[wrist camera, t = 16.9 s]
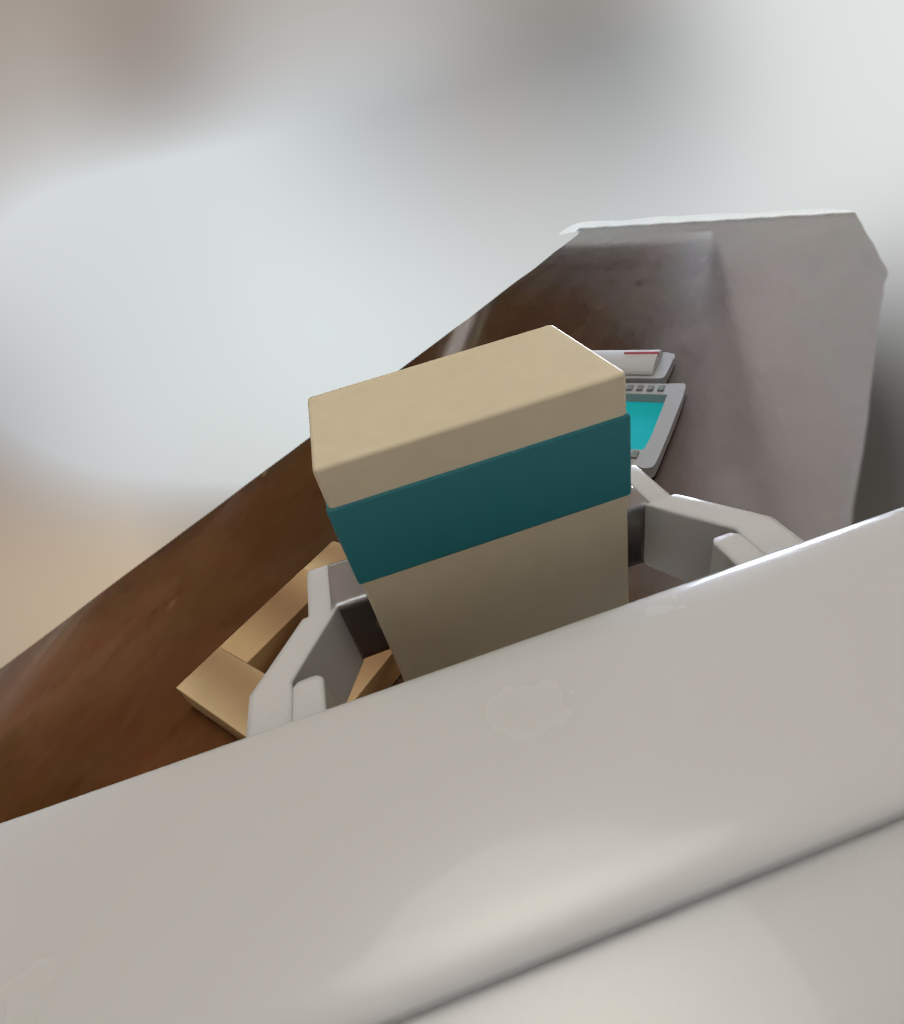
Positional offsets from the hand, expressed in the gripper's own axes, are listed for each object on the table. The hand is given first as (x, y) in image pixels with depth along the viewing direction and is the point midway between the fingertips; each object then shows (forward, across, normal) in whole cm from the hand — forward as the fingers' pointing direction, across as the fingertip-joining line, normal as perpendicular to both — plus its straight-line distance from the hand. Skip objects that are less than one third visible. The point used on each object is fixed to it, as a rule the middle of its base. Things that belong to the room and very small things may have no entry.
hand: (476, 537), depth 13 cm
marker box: (-1, 0, +6) cm, 6 cm away
